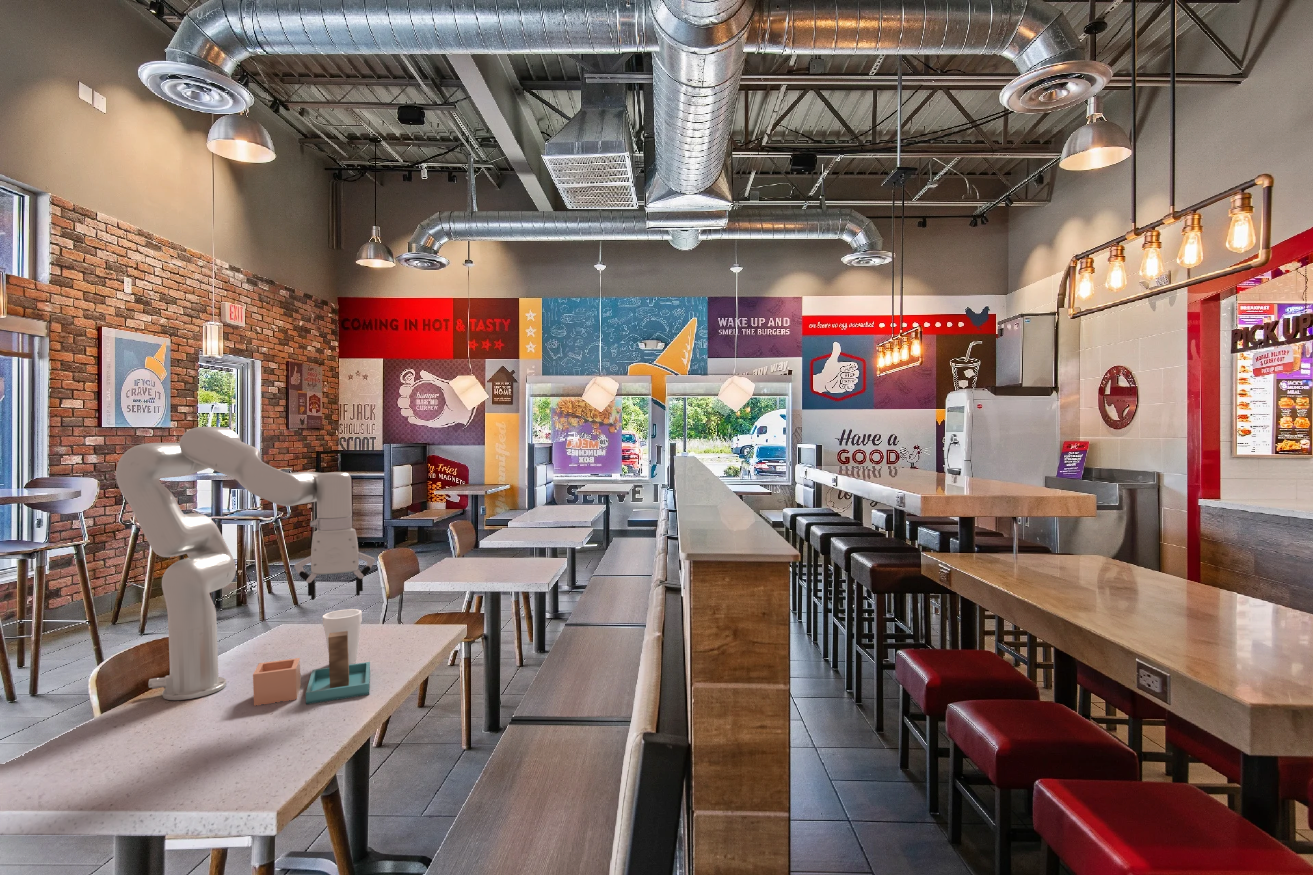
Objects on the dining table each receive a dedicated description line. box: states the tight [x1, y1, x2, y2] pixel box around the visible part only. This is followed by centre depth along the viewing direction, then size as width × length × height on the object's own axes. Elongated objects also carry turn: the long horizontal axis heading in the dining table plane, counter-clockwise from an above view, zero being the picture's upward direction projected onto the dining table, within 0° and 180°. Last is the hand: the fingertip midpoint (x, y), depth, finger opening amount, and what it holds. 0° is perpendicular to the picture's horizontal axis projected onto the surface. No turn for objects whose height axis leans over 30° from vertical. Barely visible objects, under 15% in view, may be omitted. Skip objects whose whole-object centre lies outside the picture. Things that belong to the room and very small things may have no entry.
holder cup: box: [252, 657, 302, 707], centre depth 159 cm, size 8×8×7 cm
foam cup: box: [322, 608, 363, 665], centre depth 182 cm, size 10×9×13 cm
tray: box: [305, 661, 371, 705], centre depth 164 cm, size 13×17×2 cm
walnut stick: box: [328, 631, 349, 688], centre depth 164 cm, size 4×4×12 cm
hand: (336, 596), depth 164 cm, fingers open, 9 cm apart
